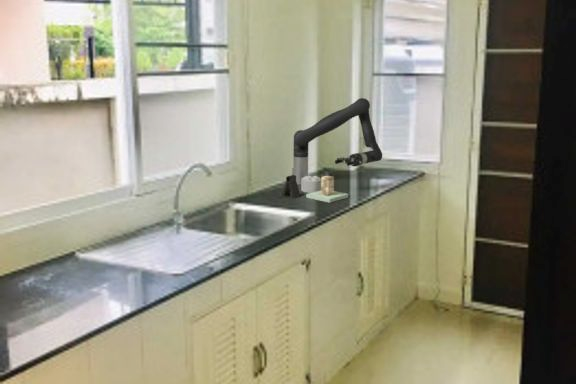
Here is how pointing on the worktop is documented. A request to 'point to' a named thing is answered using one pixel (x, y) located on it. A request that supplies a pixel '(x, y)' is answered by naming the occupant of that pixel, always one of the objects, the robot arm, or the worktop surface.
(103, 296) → the worktop surface
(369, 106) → the robot arm
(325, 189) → the birch block
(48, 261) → the worktop surface
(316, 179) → the lumpy-topped squat cylinder
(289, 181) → the phone stand
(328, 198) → the pocket frame
